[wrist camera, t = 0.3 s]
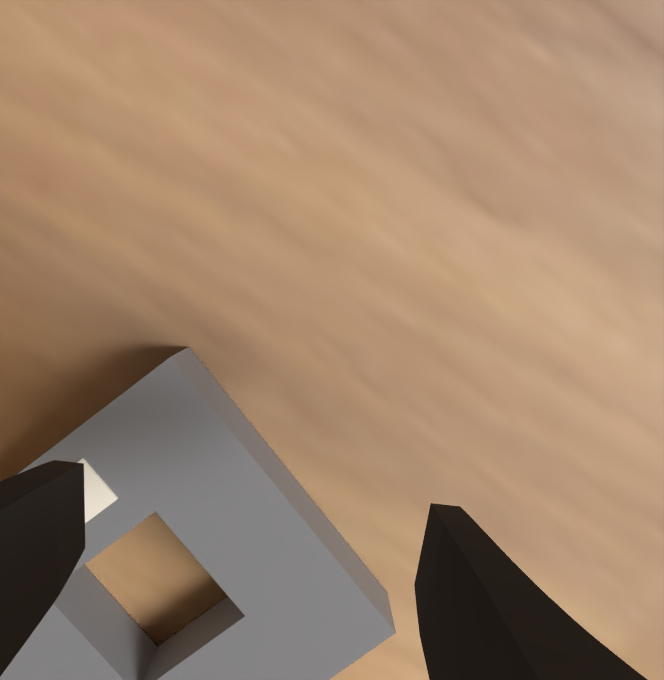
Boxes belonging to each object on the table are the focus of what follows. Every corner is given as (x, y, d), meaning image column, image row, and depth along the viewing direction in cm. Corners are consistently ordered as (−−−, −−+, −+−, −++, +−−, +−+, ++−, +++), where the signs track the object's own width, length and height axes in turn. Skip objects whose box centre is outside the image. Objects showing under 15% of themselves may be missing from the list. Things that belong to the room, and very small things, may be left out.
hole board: (145, 763, 23) (123, 825, 20) (-65, 540, 21) (-119, 577, 18) (387, 592, 22) (396, 634, 19) (189, 346, 20) (169, 357, 18)
